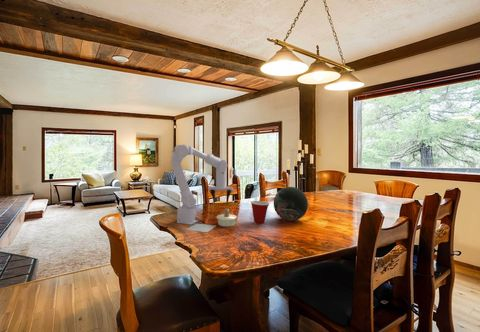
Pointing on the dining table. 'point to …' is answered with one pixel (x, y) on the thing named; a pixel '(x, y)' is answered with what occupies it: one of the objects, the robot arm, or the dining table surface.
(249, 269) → the dining table surface
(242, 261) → the dining table surface
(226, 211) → the lid
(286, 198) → the decorative sphere
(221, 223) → the bowl
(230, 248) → the dining table surface
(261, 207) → the plastic cup
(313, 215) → the dining table surface
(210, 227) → the mat
